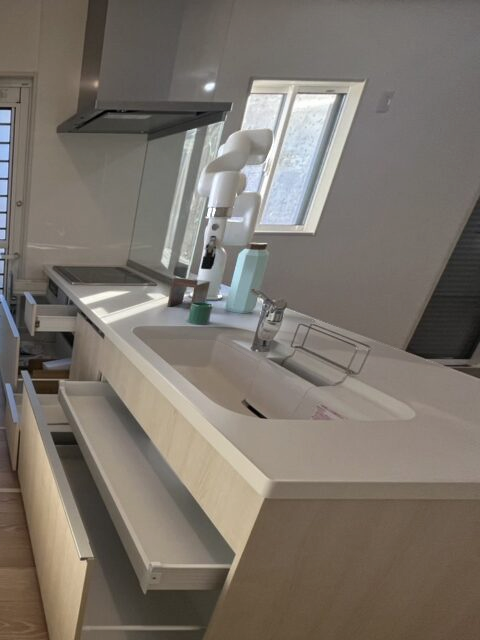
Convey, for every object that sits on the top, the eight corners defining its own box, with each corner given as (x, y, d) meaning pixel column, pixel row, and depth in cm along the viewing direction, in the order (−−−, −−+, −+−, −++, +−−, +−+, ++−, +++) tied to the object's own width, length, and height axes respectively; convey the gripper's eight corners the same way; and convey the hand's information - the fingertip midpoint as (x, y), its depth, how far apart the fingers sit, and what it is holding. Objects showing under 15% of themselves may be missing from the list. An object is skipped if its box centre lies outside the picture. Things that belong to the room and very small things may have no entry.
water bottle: (244, 315, 154) (263, 245, 143) (219, 309, 162) (235, 243, 151) (260, 311, 158) (279, 243, 148) (234, 306, 166) (251, 241, 156)
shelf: (180, 301, 174) (186, 274, 169) (204, 306, 167) (211, 277, 162) (167, 306, 168) (172, 277, 163) (191, 310, 161) (198, 280, 156)
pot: (193, 318, 151) (196, 301, 148) (211, 322, 146) (216, 304, 143) (184, 321, 147) (188, 304, 144) (203, 325, 142) (207, 307, 139)
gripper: (231, 214, 125) (218, 271, 132) (232, 213, 139) (220, 265, 146) (204, 214, 129) (192, 269, 136) (207, 213, 143) (197, 263, 149)
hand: (207, 267), depth 141 cm, fingers open, 9 cm apart
